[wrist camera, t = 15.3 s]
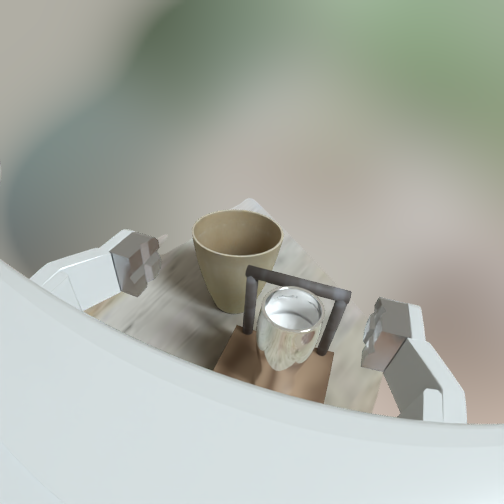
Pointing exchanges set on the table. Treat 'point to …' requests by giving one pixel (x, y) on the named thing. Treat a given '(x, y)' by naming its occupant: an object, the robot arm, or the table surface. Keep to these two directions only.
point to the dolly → (244, 338)
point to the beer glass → (286, 336)
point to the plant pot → (234, 252)
